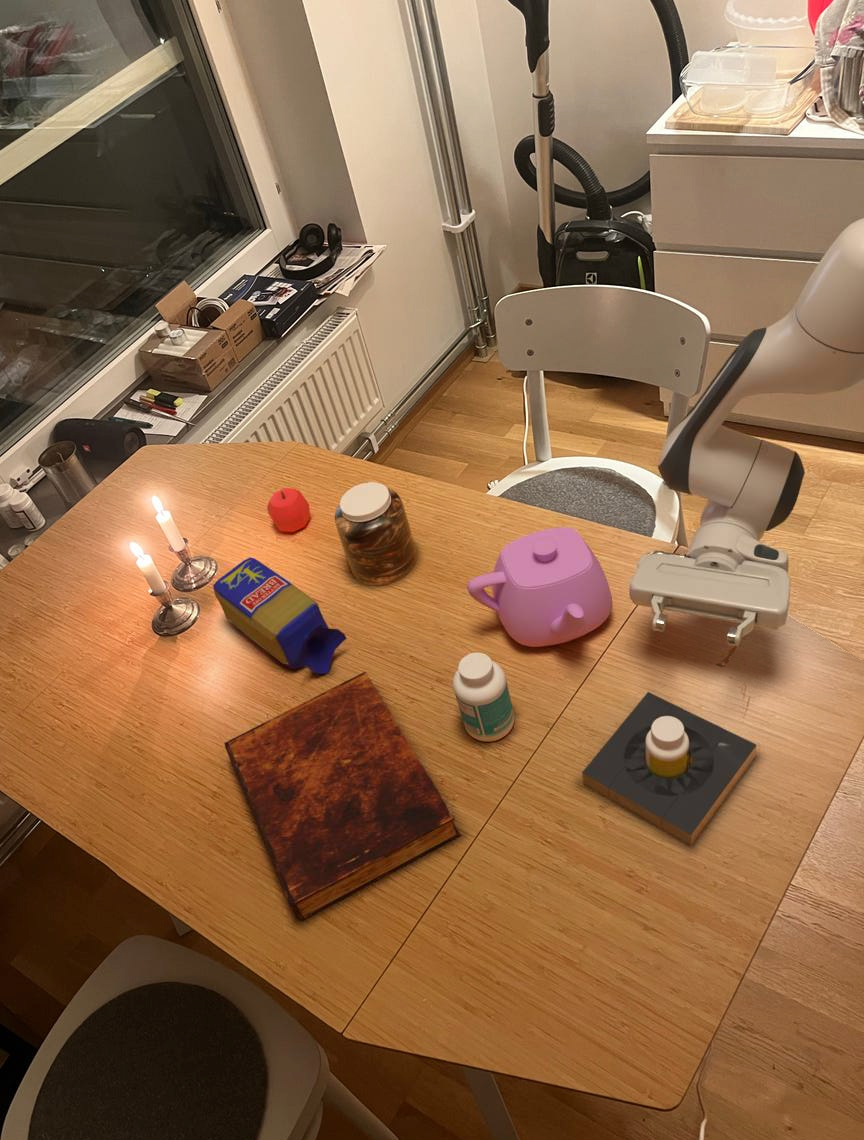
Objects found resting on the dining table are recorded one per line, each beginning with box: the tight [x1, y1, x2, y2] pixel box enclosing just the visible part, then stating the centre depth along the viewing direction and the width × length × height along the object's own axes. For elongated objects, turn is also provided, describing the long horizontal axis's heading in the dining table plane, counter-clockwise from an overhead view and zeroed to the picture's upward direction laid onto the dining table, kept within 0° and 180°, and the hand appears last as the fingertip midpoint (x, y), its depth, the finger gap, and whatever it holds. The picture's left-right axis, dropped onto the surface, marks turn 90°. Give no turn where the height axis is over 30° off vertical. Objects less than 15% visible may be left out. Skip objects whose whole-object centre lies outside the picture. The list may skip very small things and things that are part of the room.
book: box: [224, 671, 462, 922], centre depth 129 cm, size 30×24×5 cm
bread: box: [212, 557, 347, 675], centre depth 151 cm, size 10×25×10 cm, turn 42°
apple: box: [266, 487, 311, 533], centre depth 171 cm, size 8×8×8 cm
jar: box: [334, 481, 418, 587], centre depth 156 cm, size 12×12×15 cm
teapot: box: [466, 526, 613, 648], centre depth 137 cm, size 23×21×15 cm
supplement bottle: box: [646, 716, 689, 779], centre depth 119 cm, size 5×5×10 cm
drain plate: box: [581, 691, 758, 847], centre depth 121 cm, size 16×16×3 cm
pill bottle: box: [452, 652, 515, 742], centre depth 129 cm, size 8×7×14 cm
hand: (694, 635), depth 118 cm, fingers open, 8 cm apart
